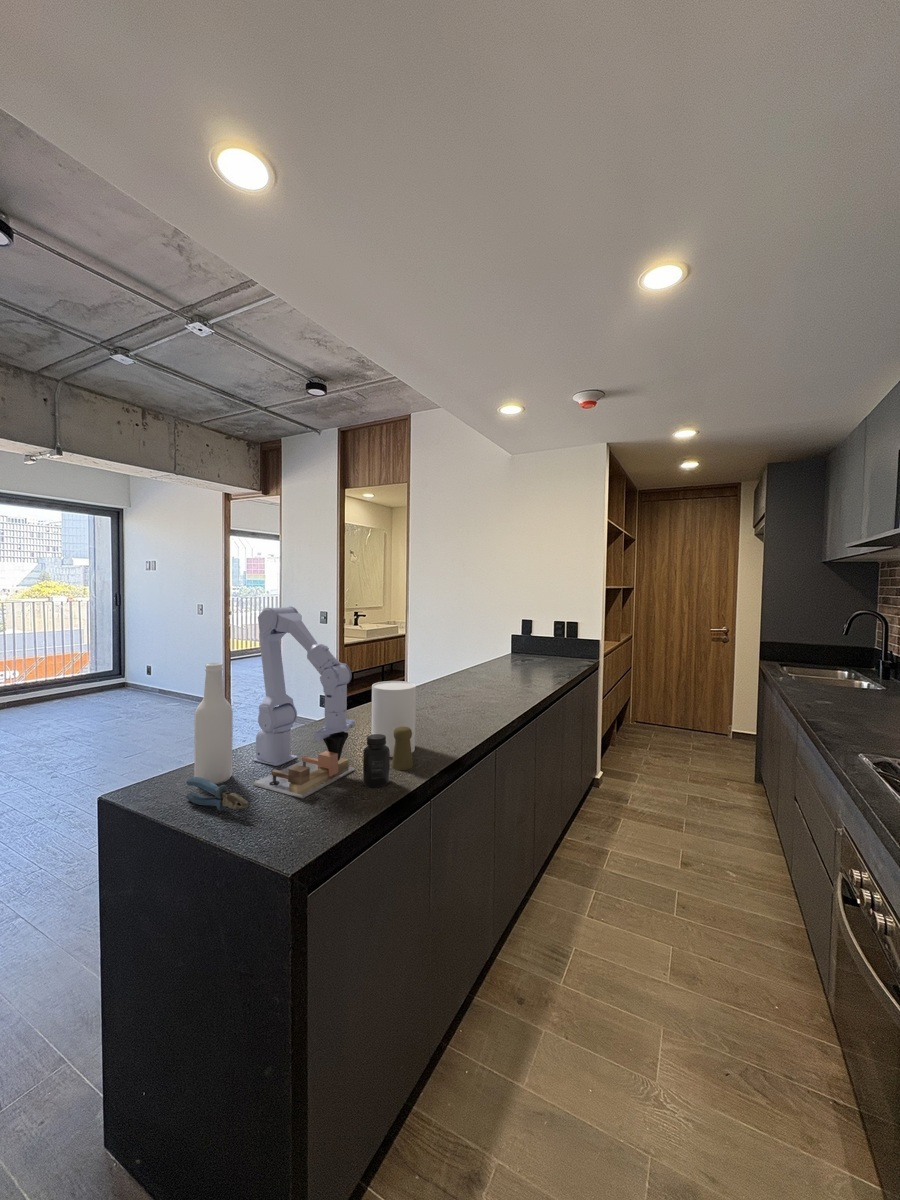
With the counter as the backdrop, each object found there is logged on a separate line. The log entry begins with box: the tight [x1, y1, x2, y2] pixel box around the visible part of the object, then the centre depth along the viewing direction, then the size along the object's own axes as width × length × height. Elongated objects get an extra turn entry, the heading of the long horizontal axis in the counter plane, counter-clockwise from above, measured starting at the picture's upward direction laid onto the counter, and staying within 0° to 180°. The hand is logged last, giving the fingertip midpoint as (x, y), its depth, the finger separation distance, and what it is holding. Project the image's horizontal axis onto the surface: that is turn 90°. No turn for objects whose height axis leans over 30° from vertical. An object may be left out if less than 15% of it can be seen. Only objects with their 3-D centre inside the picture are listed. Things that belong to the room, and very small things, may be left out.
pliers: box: [186, 776, 250, 811], centre depth 109 cm, size 20×2×6 cm, turn 61°
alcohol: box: [193, 662, 234, 785], centre depth 125 cm, size 9×9×30 cm
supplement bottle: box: [362, 734, 391, 788], centre depth 126 cm, size 7×7×12 cm
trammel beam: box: [270, 757, 350, 794], centre depth 127 cm, size 10×20×5 cm, turn 154°
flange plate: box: [253, 760, 355, 799], centre depth 128 cm, size 16×20×1 cm
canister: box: [370, 680, 417, 758], centre depth 151 cm, size 14×14×20 cm
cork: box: [391, 727, 414, 771], centre depth 137 cm, size 6×6×11 cm
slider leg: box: [301, 750, 338, 777], centre depth 130 cm, size 10×3×5 cm, turn 64°
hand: (335, 760), depth 131 cm, fingers closed
